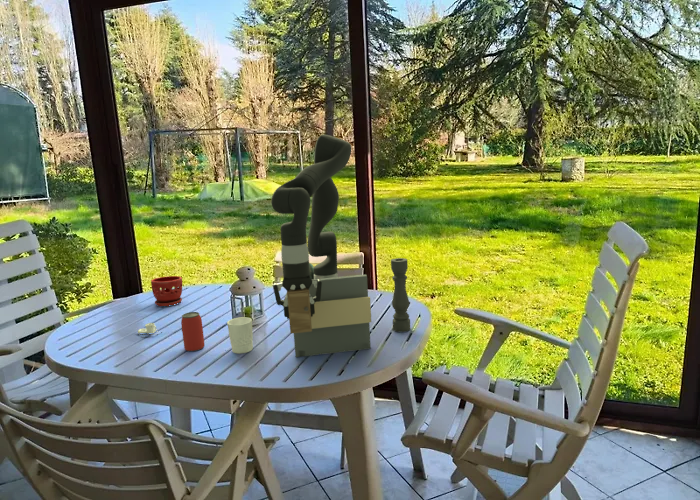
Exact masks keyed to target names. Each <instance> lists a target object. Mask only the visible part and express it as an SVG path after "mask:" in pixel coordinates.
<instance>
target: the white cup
mask: <svg viewBox="0 0 700 500" xmlns="http://www.w3.org/2000/svg"><path fill="white" fill-rule="evenodd" d="M226 325H227V329H228V336H229V340H230V341H229V342H230V346H231V352H232V353H233V354H238V355H239V354H240V355H241V354H246V353H249V352H251V351H252V350H253V349H254V346H253V345H254V343H253V341H254V339H253V338H254V337H253V335H254V334H253V319H252V318H250V317H247V316H246V317H245V316H242V317H241V316H240V317H235V318H232V319H229V320H228V321H227V323H226Z"/></svg>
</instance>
